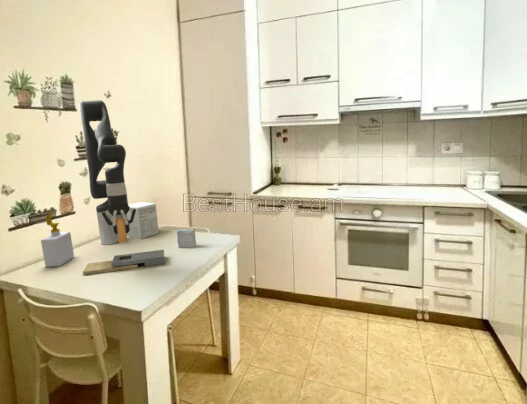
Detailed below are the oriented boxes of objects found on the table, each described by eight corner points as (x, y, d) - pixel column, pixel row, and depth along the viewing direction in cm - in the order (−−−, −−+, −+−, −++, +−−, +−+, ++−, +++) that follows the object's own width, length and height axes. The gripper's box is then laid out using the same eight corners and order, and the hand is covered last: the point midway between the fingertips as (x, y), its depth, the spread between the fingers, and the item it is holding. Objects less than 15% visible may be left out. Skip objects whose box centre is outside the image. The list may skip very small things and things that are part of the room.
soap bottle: (59, 266, 152) (50, 215, 147) (44, 267, 152) (35, 215, 148) (74, 257, 164) (67, 208, 159) (61, 257, 164) (53, 209, 159)
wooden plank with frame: (83, 275, 141) (82, 267, 140) (88, 266, 150) (87, 259, 150) (164, 264, 149) (163, 256, 148) (164, 256, 159) (163, 249, 158)
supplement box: (159, 232, 199) (156, 203, 196) (140, 239, 188) (137, 207, 185) (144, 230, 206) (141, 201, 203) (125, 236, 195) (121, 206, 192)
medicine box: (196, 245, 174) (195, 228, 172) (193, 248, 169) (192, 231, 168) (181, 245, 174) (179, 228, 173) (178, 248, 170) (176, 231, 168)
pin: (118, 240, 149) (114, 213, 147) (129, 239, 150) (126, 212, 148) (116, 243, 145) (113, 215, 142) (128, 242, 146) (124, 214, 144)
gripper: (135, 190, 149) (140, 229, 152) (100, 193, 145) (105, 233, 149) (134, 193, 142) (139, 233, 145) (96, 196, 138) (102, 237, 141)
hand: (122, 233), depth 147 cm, fingers closed on pin, 3 cm apart
